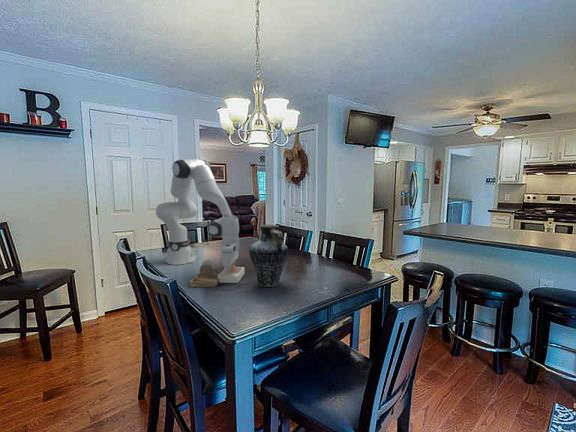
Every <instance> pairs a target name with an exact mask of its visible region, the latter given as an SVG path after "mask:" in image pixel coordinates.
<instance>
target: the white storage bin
mask: <svg viewBox="0 0 576 432" xmlns="http://www.w3.org/2000/svg"><path fill="white" fill-rule="evenodd" d="M235 267H236V271H235V272H234V273H228V272H227V267H224V269H223V270H222V271H221V272H220V274H219V275H218V276H217V278H219V283H218V284H220V283H221V284H223V283H224V284H225V283H226V284H227V283H228V284H238V283H239V282H240V280H241V279H242V277H243V276H244V275H245V267H243V266H242V267H241V266H235Z"/></svg>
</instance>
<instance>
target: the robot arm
mask: <svg viewBox="0 0 576 432" xmlns="http://www.w3.org/2000/svg"><path fill="white" fill-rule="evenodd" d="M211 168H212V167H211V163H209V161H207V160H206V159H205V160H204V159H196V158H190V159H178V160H175V161H174V162H173V164H172V168H171V169H172V174H173V175H172V178H171V179H172V180H171V186H170V194H171V195H172V197H173V198H175V199H177V201H169V202H168V201H167V202H163V203H159V204H158V205H157V206H156V208H155V215H156V216H157V218H158V219H159V220H160V221H162V222H163V223H164V224H165V226H166V227H167V230H168V248H167V249H166V259H165V260H164V263H167V264H169V265H172V266H173V265H175V266H176V265H177V266H178V265H179V266H180V265H186V264H191V263H194V262H195V261H196V260H197V258H198V255H197V254H194V253H195V251H194V249H193V248H192V247H191V246H190V243H191V240H190V239H189V238H188V228H187V227H186V226H185V225H183V224H181V223H180V222H179V220H183V219H184V220H185V219H190V218H194V217H195V216H196V215H197V213H198V206H197V204H195V202H194V201H193V200H192V199H191V196H190V195H191V186H192V181H193V182H194V185H195V189H196V192H197V194H198V196H199V198H201V199H203V200H205V201H207V202H211V203H213V204H215V205H216V206H217V208H218V209H219V211H220V213H221V215H222V217H220V218H218V219H215V220H211V221H210V222H209V224H208V233H209V236H211V237H212V238H215V239H216V238H222V240H221V241H222V243H221V247H220V252H221V262H222V263H221V264H222V267H223V268H226V267H227V269H228V272H231V271H232V268H231V264H233V265H235V264H236V260H237V259H238V258H239V249H240V237H239V233H240V223H239V218H238V216H236V215H234V213H233V212H232V209H231V206H230V204H229V202H228V200H227V197H226V196H225V194H224V193H223V192H222V191H221V190H220V188H219V186H218V184H217V182H216V179H215V177H214V174H213V172H212V169H211ZM235 266H236V265H235Z"/></svg>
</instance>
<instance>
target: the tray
mask: <svg viewBox="0 0 576 432" xmlns="http://www.w3.org/2000/svg"><path fill="white" fill-rule="evenodd" d="M217 276H218V275H213V274H211V275H201V274H196V275H195V277H194V278H192V279H191V280H190V281H189V282H187V283H188V288H211V287H212V288H213V289H214V288H216V286H217V285H218V284H220V283H219V278H217Z"/></svg>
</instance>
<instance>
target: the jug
mask: <svg viewBox="0 0 576 432" xmlns="http://www.w3.org/2000/svg"><path fill="white" fill-rule="evenodd" d="M259 227H260V232H261V237H260V239H258V240H257V241H255V242H254V243H252V244H251V245H250V247H249V250H248V253H249V257H250V260H251V263H252V266H253V268H254V271H255V273H256V281H257V284H258V286H260V287H269V288H271V287H272V288H273V287H276V286H278V285H280V284H279V283H280V279H281V276H282V273H283V270H284V267H285V265H286V262H287V260H288V256H289V248H288V246H287V245H286V244H285V243H284V240H285V239H284V238H285V237H284V234H283V232H282V231H279V227H280V226H279V225H277V224H263V225H260V226H259Z"/></svg>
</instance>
